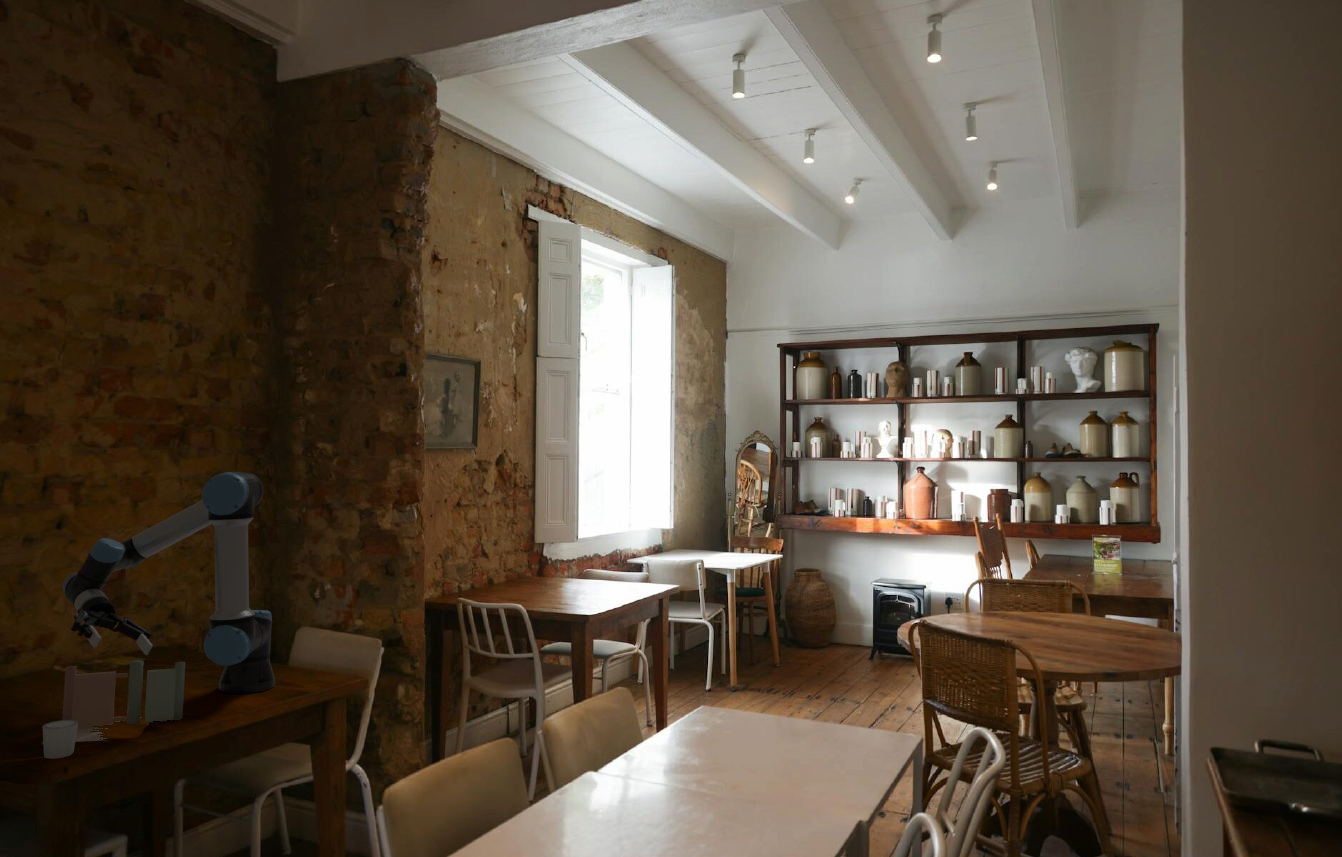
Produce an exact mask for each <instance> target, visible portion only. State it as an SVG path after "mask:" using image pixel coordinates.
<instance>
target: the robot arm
mask: <svg viewBox="0 0 1342 857" xmlns="http://www.w3.org/2000/svg"><path fill="white" fill-rule="evenodd" d="M263 497H264V485H263V483H262V481H261V480H260V478H259V477H257V475H255V474H253V473H250V472H248V471H232V472H231V471H227V472H221V473H218V474H216V475H214V476H212V477H210V478H209V480H208V481H207V482H206V483H205V485H204V487H203V488H202V492H201V500H200V501H198V502H196V503H195V504H192V505H190V506H188V507H187V508H185V509H183V510H181V511H179V512H177V513H175V514H174V515H171V516H170V517H168V518H165V519H163V520H162V521H160V522H158V523H156V524H154V525H152V526H150V527H148V528H146V529H144V530H142V531H141V532H139V533H137V534H135V535H134V536H132V537H129V538H128V539H126V540H123V541H122V542H120V541H117V540H115V539H111V538H105V537H102V538H99V539H98V540H96V542H95V543H94V545H93V547H91V548H90V551H89V553H88V555H87V557H86V558H85V560H84V562H83V563H82V565H81V567H80V568H79V570H78V571H77V572H75V573H72V574H71V575H69V576H68V577H67V578H65V580H64V581H63V583H62V591H63V594H64V595H65V598H66V600H68V601H69V602H70V603H71V604H72V606H73V607H74V609H75V610H76V613H75V615H73V618H74V621H73V624H72V626H71V628H70V630H71V631H72V632H77V631H78V632H77V634H76V635H77V636H78V637H84V638H86V640H87V641H88V642H89V644H90V645H91V647H92V648H97V646H98V645H99V643H100V642H101V640H102V636H101V635H100V634H99V632H98V631H97V630H96V627H97V628H103V629H108V630H110V631H112V632H114V633H120V634H122V635H124V636H125V637H129V638H130V639H132V640H133V641H135V644H136V645H137V646H138V648H139V649H140V650H141V651H142V653H143V654H144V655H146V656H147V655H149V653H150V651H151V650H152V648H153V647H154V645H153V643H152V642H151V640H150V638H151V637H152V635H153V634H152V632H150V631H148V629H147V630H146V629H145V628H144V627H142V626H140V625H139V624H137V623H136V622H134V621H133V620H132V619H131V618H130V617H128V616H124V618H121V617H119V616H118V615H117V614H116V608H115V606H114V605H113V603H112V602H111V600H110V599H109V598H108V596H107V595H106V594H105V593H104V592H103V589H104V586H105V585H106V583H107V582H108V580H109V578H110V577H111V575H113V574H112V573H113V572H117V571H121V570H125V569H131V568H134V567H136V566H138V565H139V564H142V562H143V561H144V560H146V559H149V557H151V556H154V555H155V554H157V553H159V552H161V551H163V550H165V549H167V548H169V547H171V546H172V545H175V544H177V543H178V542H181V541H182V540H184V539H185V538H188V537H190V536H192V535H193V534H195V533H197V532H199V531H201V530H203V529H205V528H206V527H209V526H210V525H213V526H214V579H215V580H214V582H215V583H214V586H215V588H214V591H215V592H214V593H215V594H214V595H215V604H214V605H215V610H214V612H212V614H211V615H210V616H209V631H208V633H207V634H206V636H205V638H204V640H203V641H204V642H203V650H204V653H205V655H206V657H207V658H208V659H209V660H210V661H211V662H213V663H214V664H216V665H218V666H223V667H224V668H223V671H222V673H221V676H220V679H219V682H218V690H219V691H220V692H223V693H227V694H240V695H241V694H250V693H251V694H253V693H259V692H263V691H267V690H270V689H272V688H275V685H276V684H275V682H276V681H275V680H276V678H275V674H274V670H273V667H272V663H271V660H270V659H271V658H270V657H271V641H272V640H271V639H272V636H271V635H272V623H273V619H272V617H273V616H272V612H271V611H269V610H267V609H266V610H265V609H264V610H262V609H251V608H250V589H249V587H250V585H249V584H250V583H249V582H250V581H249V580H250V578H249V524H250V523H251V522H252V521H253V520H254V517H255V514H254V513H255V512H254V511H255V510H254V508H255V507H257V505H259V503H260V502H261V501H262V499H263ZM82 621H83V622H84V623H82ZM116 625H117V626H116Z"/></svg>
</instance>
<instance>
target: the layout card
mask: <svg viewBox="0 0 1342 857" xmlns="http://www.w3.org/2000/svg"><path fill="white" fill-rule="evenodd" d="M93 729H95V730H93ZM96 729H103V728H98V727H82V728H77V734H76V740H75V743H77V742H78V743H80V742H96V741H97V742H99V741H101V742H102V741H104V740H103V739H107V738H103V737H100V736H103V735H100V734H103V733H102V732H90V731H99V730H96ZM105 729H108V728H105ZM98 734H99V735H98ZM100 739H101V740H100ZM41 744H42V745H43V742H41Z"/></svg>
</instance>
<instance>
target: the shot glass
mask: <svg viewBox="0 0 1342 857" xmlns="http://www.w3.org/2000/svg"><path fill="white" fill-rule="evenodd" d="M77 728H78V721H75V720H55V721H50V722H47V723H44V724H43V725H42V738H43V739H42V743H43V744H42V745H43V757H44V758H45V759H51V760H53V759H62V758H66V757H69V756H71V754H72V755H73V754H74V751H75V746H76V742H75V740H76V734H77Z"/></svg>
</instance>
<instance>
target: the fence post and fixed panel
mask: <svg viewBox="0 0 1342 857" xmlns="http://www.w3.org/2000/svg"><path fill="white" fill-rule="evenodd" d="M144 661H145V660H142V659H141V660H140V659H139V660H132V661H129V672H128V692H127V693H128V694H127V706H126V707H127V711H126V718H127V724H138V723H140V718H141V715H142V698H143V697H142V696H143V694H142V693H143V682H144V679H143V677H144V665H145V662H144ZM146 672H147V673H146V688H145V706H144V710H145V711H144V717H145V722H151V723H154V722H153V721H160V722H168V721H167V720H171V721H172V720H173V719H176V720H177V719H182V720H183V711H184V698H185V697H184V695H185V692H184V691H185V677H186V676H185V675H186V661H177V662H174V668H163V669H162V668H161V669H151V670H150V669H148V670H147V671H146ZM145 722H144V723H145Z"/></svg>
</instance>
